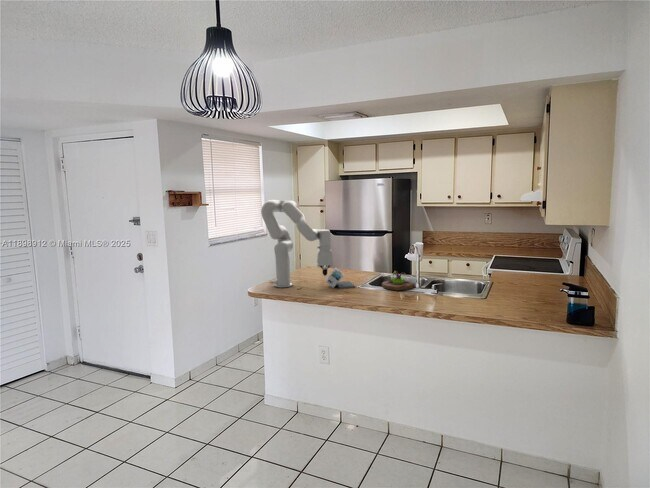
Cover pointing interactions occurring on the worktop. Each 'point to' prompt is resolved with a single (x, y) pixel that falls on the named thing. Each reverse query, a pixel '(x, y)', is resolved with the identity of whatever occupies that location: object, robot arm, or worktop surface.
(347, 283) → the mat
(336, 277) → the light bulb box
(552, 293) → the worktop surface
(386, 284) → the plant
